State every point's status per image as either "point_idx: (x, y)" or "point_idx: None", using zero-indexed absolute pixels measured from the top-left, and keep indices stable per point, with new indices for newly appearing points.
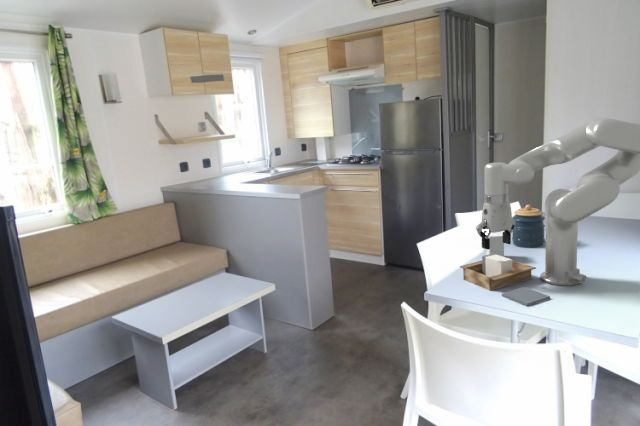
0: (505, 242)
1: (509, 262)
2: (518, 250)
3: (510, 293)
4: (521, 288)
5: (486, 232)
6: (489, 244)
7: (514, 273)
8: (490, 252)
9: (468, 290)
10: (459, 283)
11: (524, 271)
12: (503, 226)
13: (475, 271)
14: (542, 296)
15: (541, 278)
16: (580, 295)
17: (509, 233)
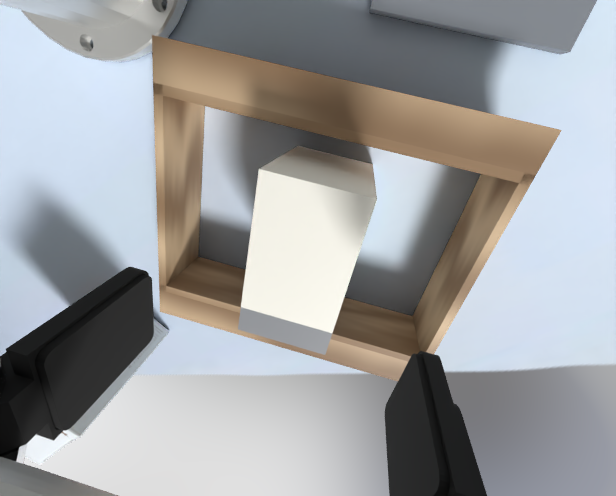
0: (147, 315)
1: (291, 171)
2: (3, 305)
3: (541, 2)
4: (407, 3)
5: (44, 461)
6: (436, 396)
7: (354, 87)
8: (141, 359)
9: (549, 245)
10: (473, 315)
11: (264, 61)
12: None
13: (355, 316)
14: None
15: (176, 16)
16: None
17: (22, 361)
